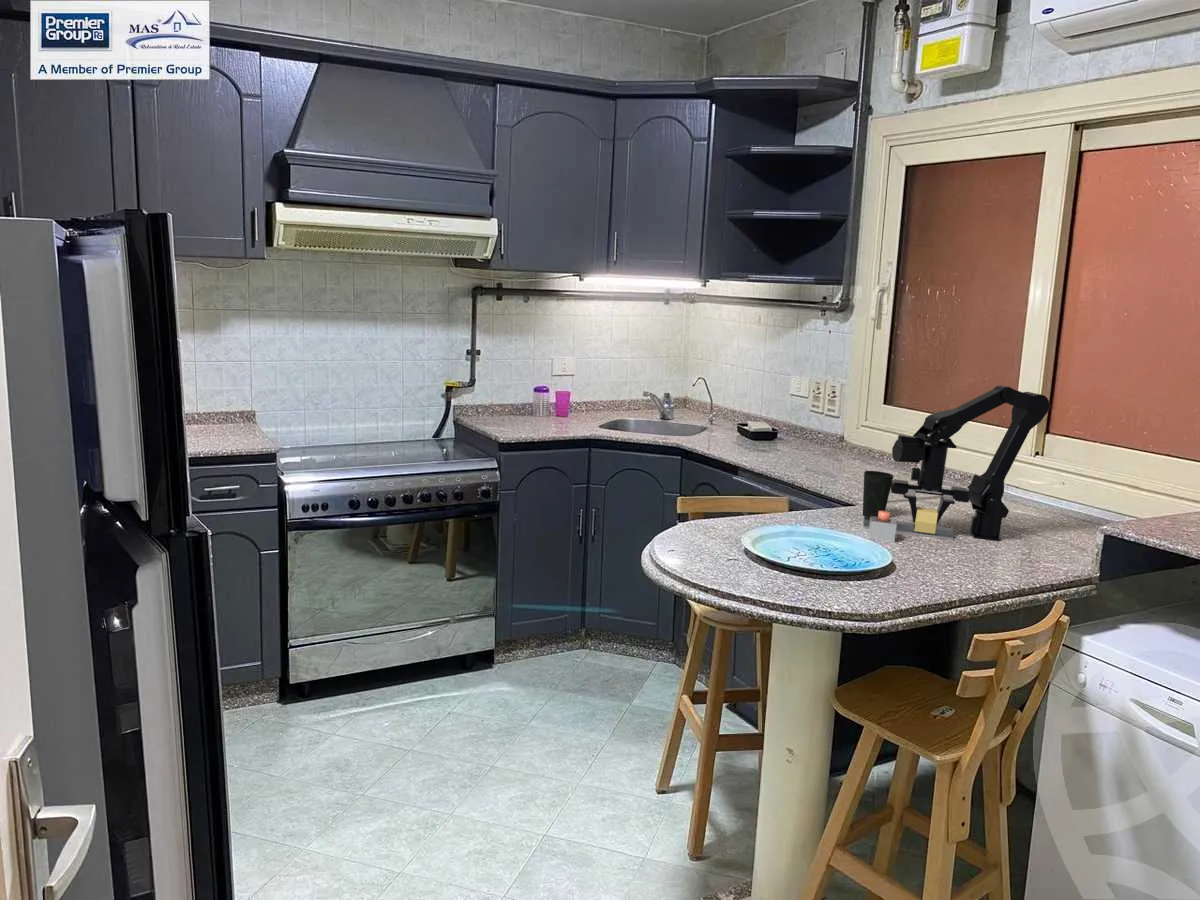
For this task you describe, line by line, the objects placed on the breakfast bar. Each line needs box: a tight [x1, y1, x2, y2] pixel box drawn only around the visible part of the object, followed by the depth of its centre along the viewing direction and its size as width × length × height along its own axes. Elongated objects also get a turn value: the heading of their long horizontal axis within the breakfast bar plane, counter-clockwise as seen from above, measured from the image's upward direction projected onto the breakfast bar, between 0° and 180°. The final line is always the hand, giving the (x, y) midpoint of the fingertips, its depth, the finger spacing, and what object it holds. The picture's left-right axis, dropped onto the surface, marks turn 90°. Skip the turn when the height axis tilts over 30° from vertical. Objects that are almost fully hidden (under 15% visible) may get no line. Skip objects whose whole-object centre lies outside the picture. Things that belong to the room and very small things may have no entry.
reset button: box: [878, 510, 891, 521], centre depth 233 cm, size 3×3×2 cm
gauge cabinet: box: [868, 516, 897, 543], centre depth 233 cm, size 6×6×4 cm
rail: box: [862, 516, 954, 541], centre depth 243 cm, size 22×6×2 cm, turn 76°
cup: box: [862, 470, 894, 518], centre depth 256 cm, size 8×8×12 cm
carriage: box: [912, 506, 938, 534], centre depth 241 cm, size 5×5×5 cm
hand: (924, 523), depth 241 cm, fingers closed on carriage, 5 cm apart
